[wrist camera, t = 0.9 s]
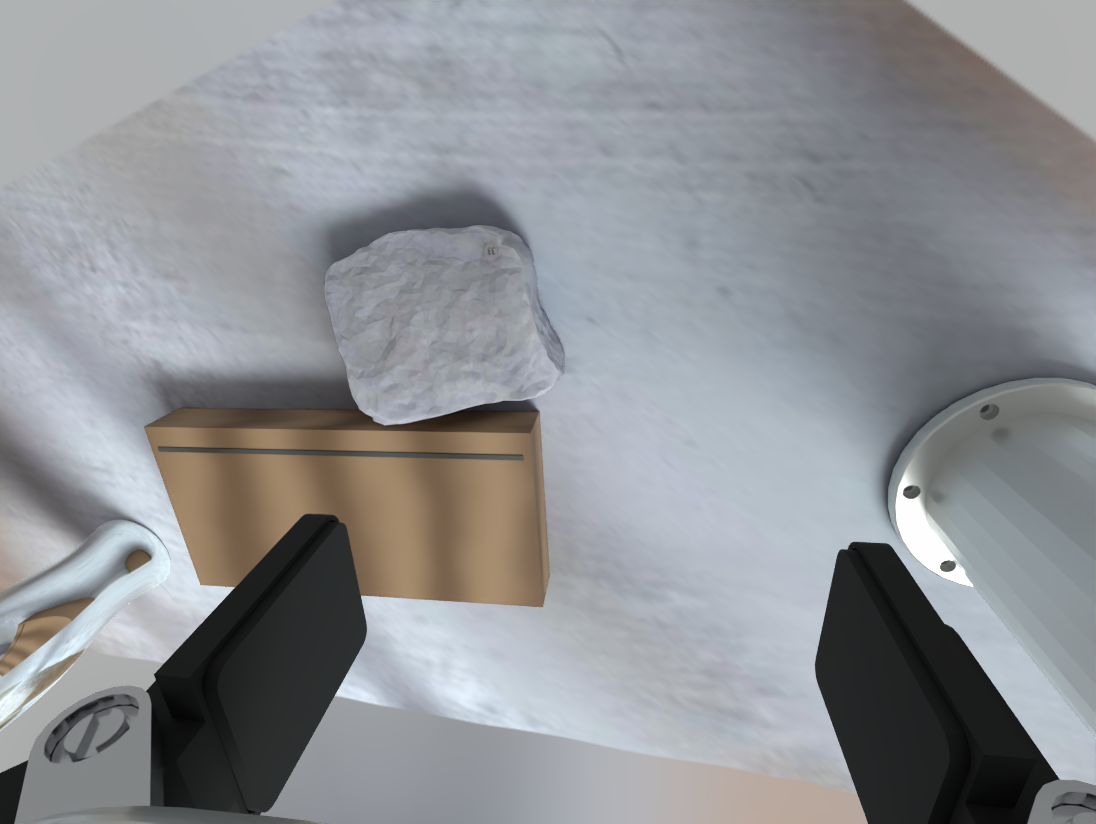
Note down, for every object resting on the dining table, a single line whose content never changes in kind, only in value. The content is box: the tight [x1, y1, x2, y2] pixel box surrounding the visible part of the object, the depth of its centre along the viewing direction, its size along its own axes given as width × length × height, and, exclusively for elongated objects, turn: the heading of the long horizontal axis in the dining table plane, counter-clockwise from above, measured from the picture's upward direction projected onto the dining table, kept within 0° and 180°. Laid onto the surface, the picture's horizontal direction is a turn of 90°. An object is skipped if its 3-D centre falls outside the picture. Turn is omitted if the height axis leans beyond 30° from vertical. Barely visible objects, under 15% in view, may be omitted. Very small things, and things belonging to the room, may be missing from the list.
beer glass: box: [0, 520, 171, 731], centre depth 36 cm, size 7×7×15 cm
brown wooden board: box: [144, 408, 550, 607], centre depth 36 cm, size 24×12×3 cm, turn 93°
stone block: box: [324, 225, 565, 425], centre depth 31 cm, size 12×5×10 cm
